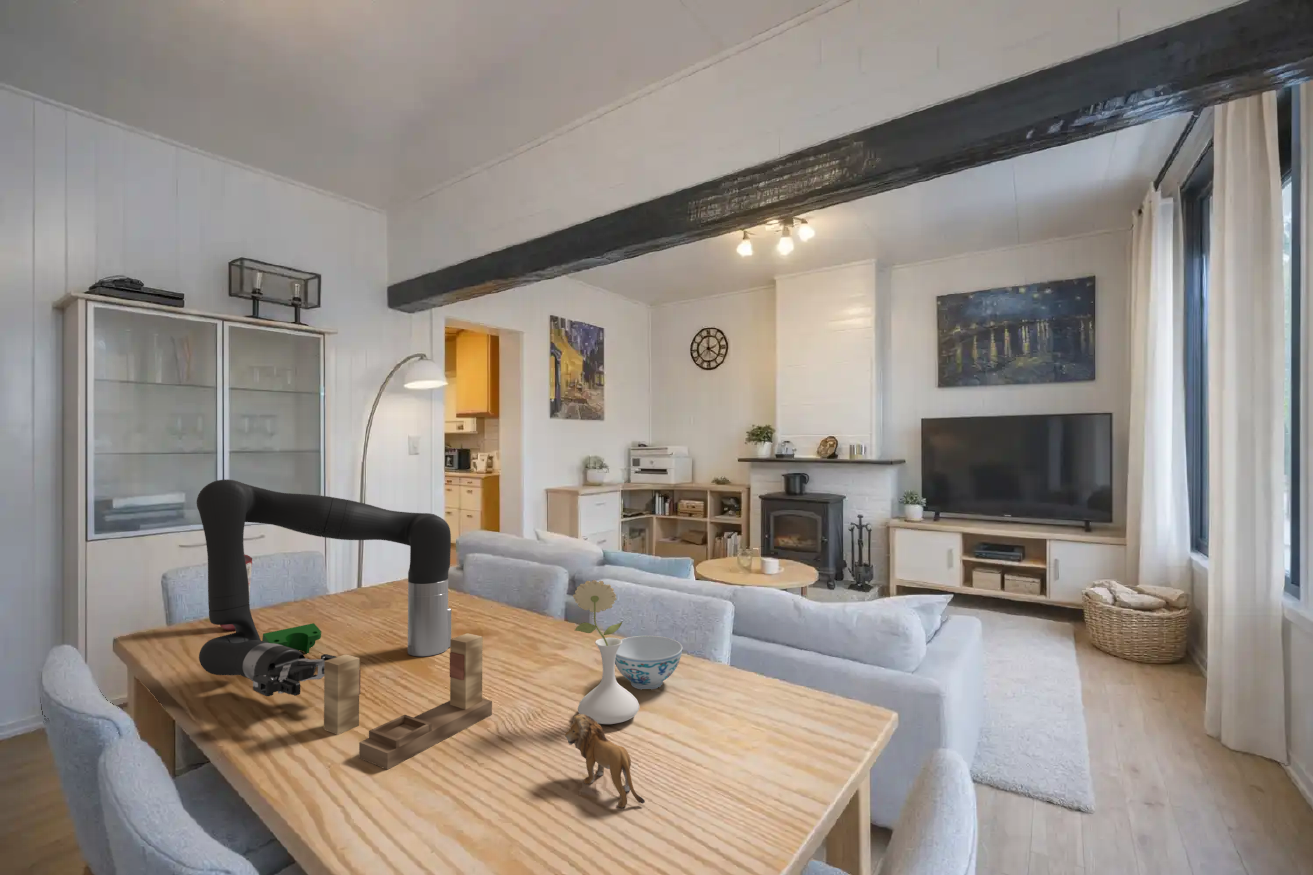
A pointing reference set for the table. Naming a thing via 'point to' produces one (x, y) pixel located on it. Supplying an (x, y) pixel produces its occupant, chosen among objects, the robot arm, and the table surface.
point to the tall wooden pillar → (341, 693)
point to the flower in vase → (604, 660)
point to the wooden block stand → (434, 711)
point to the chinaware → (647, 660)
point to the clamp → (295, 637)
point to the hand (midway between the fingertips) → (322, 681)
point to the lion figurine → (602, 755)
